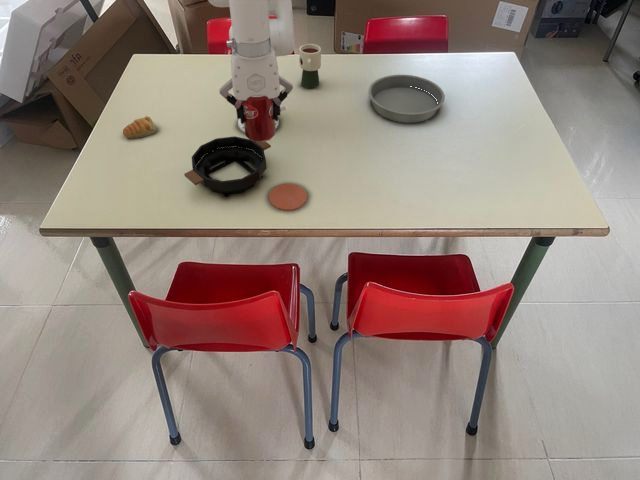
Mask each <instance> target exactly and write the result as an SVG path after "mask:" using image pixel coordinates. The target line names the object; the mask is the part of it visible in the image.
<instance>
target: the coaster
mask: <svg viewBox="0 0 640 480" xmlns="http://www.w3.org/2000/svg"><path fill="white" fill-rule="evenodd" d="M307 199H308V193H307V191H306V190H305V189H304V188H303V187H302V186H300V185H298V184H295V183H282V184H279V185H277V186H275V187H274V188H272V189H271V190H270V192H269V195H268V201H269V203H270V204H271V205H272V207H274V208H275V209H278V210H280V211H287V212H289V211H294V210H297V209H300V208H301V207H303V206H304V205H305V204H306V202H307Z"/></svg>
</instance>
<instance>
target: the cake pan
mask: <svg viewBox="0 0 640 480" xmlns="http://www.w3.org/2000/svg"><path fill="white" fill-rule="evenodd" d="M410 86H412V87H410ZM415 87H417V88H415ZM418 88H420V89H418ZM421 89H422V90H421ZM424 90H425V91H424ZM426 91H427V92H426ZM428 92H429V93H430V94H429V93H428ZM431 94H432V95H433V96H434V97H435V98H436V99H437V101H436V99H435V98H434V97H433V96H432V95H431ZM368 96H369V98H370V100H371V104H372V107H373V109H374V111H376V113H378V114H379V115H380V116H382V117H383V118H386V119H388V120H390V121H393V122H397V123H404V124H405V123H406V124H407V123H408V124H413V123H414V124H415V123H422V122H425V121H427V120H429V119H431V118H432V117H434V116H435V115H436V113H437V111H438V109H440V108H441V107H442V106H443V104H444V102H445V98H446V97H445V96H446V95H445V93H444V90H443V89H442V88H441V87H440V86H439V85H438V84H437V83H436V82H433V81H431V80H430V79H427V78H425V77H421V76H417V75H412V74H390V75H385V76H382V77H380V78H378V79H376V80H374V81H373V82H372V83H371V84H370V85H369V87H368ZM437 102H438V104H437Z"/></svg>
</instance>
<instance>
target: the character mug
mask: <svg viewBox="0 0 640 480" xmlns="http://www.w3.org/2000/svg"><path fill="white" fill-rule="evenodd" d="M298 52H299V58H298V59H299V67H300V69H302V73H301V79H300V80H301V82H300V85H301V86H302V87H303V88H305V89H306V88H309V89H310V88H316V87H318V86H320V75H319V70H320V69H321V66H322V48H321V46H319V45H318V44H315V43H306V44H303V45H300V46H299V51H298Z"/></svg>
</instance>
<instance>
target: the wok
mask: <svg viewBox="0 0 640 480" xmlns="http://www.w3.org/2000/svg"><path fill="white" fill-rule="evenodd" d="M270 148H272V146H271V144H270V143H268V141H265V142H255V141H252V140H250V139H249V138H245V137H240V136H234V135H233V136H225V137H217V138H214V139H212V140H210V141H208V142H206V143H204V144H201V145H199V147H198V148H197V150H196V151H195V152H194V153H193V154H192V155H191V166H192V167H191V170H189V171H188V172H184V173H183V176H184V177H185V178H186V179H188V181H190V183H192V184H193V185H194V186H197V185H200V184H201V185H202V186H203V187H205V188H207V189H208V190H210V191H211V193H216V194H218V195H222V196H223V197H225V198H229V197H230V196H232V195H237V194H238V195H239V194H244V193H246V192H247V191H249V190H251V189H252V188H254V187H255V186H256V185H257V184H258V182H259V181H260V180H261V179H264V176H263V175H264V173H265V172H266V171H267V169H268V168H267V167H268V166H267V158H266V154H265V151H266V150H268V149H270ZM233 163H236V164H238V165H239V166H240V167H241V168H243V169H244V170H245V171H247V172H248V173H249V174H248V175H246V176H244V177H242V178H236V179H227V180H220V179H215V178H213V177H212V176H210V175H211V174H213V173H215V172H217V171H219V170H222V169H223V168H225V167H227V166H229V165H231V164H233ZM247 163H248V164H247ZM250 165H251V166H250Z"/></svg>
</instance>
